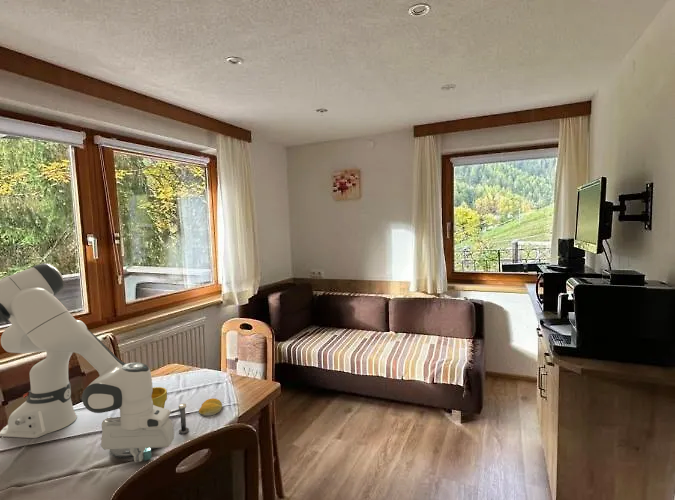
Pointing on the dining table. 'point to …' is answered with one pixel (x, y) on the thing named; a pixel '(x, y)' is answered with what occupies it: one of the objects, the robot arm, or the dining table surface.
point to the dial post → (183, 418)
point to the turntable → (126, 453)
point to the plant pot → (159, 396)
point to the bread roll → (210, 407)
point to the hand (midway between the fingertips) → (138, 460)
